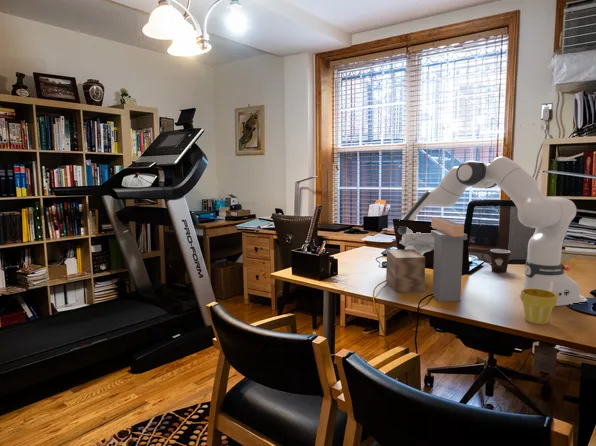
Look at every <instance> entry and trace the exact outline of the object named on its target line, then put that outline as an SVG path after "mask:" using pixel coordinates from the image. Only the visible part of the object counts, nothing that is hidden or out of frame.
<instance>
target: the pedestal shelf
mask: <svg viewBox="0 0 596 446" xmlns="http://www.w3.org/2000/svg"><path fill="white" fill-rule="evenodd" d="M431 236H433V237H435V239H434V250H433V269H432V291H431V292H432V293H431V294H433V295H434V296H435V297H434V296H433V295H432V296H433V297H434V298H435V299H437V300H438V302H460V301H461V295H462V278H463V277H462V276H463V274H462V273H463V254H464V252H463V251H464V241H468V234H467V233H464V236H457V237H452V236H450V235H448V234H446V233H444V232H441V231H439V230H437V229H434V230H431Z"/></svg>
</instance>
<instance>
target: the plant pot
mask: <svg viewBox="0 0 596 446" xmlns="http://www.w3.org/2000/svg"><path fill="white" fill-rule="evenodd" d="M521 290H522V289H521ZM521 290H520V293H521V296H520V300H521V302H522V304H523V310H524V311H523V313H524V318H525V319H524V320H525V321H527V322H529V323H532V324H535V325H546V324H548V323H549V320H550V318H551V315H552V312H553V309H554V307H557V306H556V302H557V295H556V294H555V293H554V292H551V291H548V290H544V289H538V288H526V289H523V290H522V291H521Z"/></svg>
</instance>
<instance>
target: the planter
mask: <svg viewBox="0 0 596 446" xmlns="http://www.w3.org/2000/svg"><path fill="white" fill-rule="evenodd" d="M430 225H431V226H430V227H432V228H433V229H434V230H439V231H441V232H444V233H446V234H448V235H450V236H452V237H457V236H464V232H465V231H464V230H465V225H464V224H461V223H459V222H456V221H453V220H450V219H447V218H444V217H442V216H440V217H439V216H438V217H437V216H435V217H431V224H430Z"/></svg>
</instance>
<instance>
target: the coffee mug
mask: <svg viewBox="0 0 596 446" xmlns="http://www.w3.org/2000/svg"><path fill="white" fill-rule="evenodd" d="M485 254H487V255H488V256H489V258H490V262H489V261H488V260H487V259H485V258H484V255H485ZM510 256H511V251H510V250H507V249H503V248H502V249H501V248H492V249H490V252H487V251H485V252H482V253H481V258H482V260H483V261H485V263H487V264H489V265H490V267H491V272H493V273H497V274H505V273H507V272H508V265H509V261H510Z"/></svg>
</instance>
